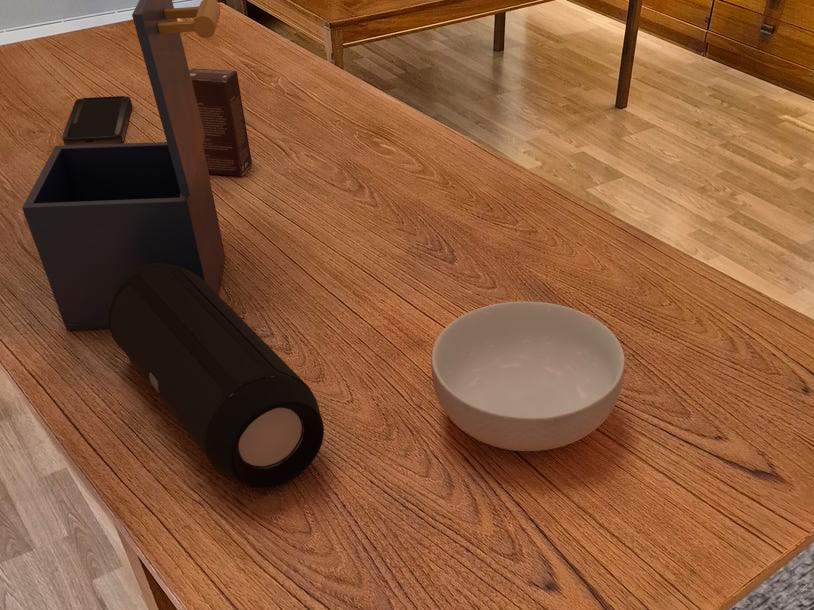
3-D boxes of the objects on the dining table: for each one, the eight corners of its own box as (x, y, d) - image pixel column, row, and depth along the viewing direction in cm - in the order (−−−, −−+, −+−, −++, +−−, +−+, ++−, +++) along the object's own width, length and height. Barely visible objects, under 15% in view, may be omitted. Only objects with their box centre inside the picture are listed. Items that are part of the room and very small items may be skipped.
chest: (66, 331, 89) (21, 207, 80) (92, 262, 99) (55, 145, 90) (214, 323, 91) (187, 200, 82) (225, 256, 101) (202, 140, 92)
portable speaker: (115, 364, 86) (85, 271, 79) (211, 330, 90) (190, 240, 83) (231, 517, 71) (207, 421, 64) (339, 468, 75) (327, 373, 68)
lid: (131, 14, 71) (202, 9, 71) (155, -32, 81) (217, -36, 81) (181, 196, 81) (243, 191, 82) (197, 136, 91) (252, 132, 92)
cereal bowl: (446, 355, 87) (445, 293, 83) (615, 368, 86) (625, 306, 81) (418, 471, 75) (415, 406, 70) (615, 489, 74) (626, 424, 69)
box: (253, 163, 119) (238, 69, 110) (242, 178, 115) (225, 82, 107) (210, 159, 119) (191, 65, 111) (197, 174, 116) (177, 78, 108)
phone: (131, 95, 132) (120, 136, 121) (133, 103, 133) (122, 144, 122) (75, 98, 131) (59, 139, 120) (77, 106, 132) (62, 147, 121)
